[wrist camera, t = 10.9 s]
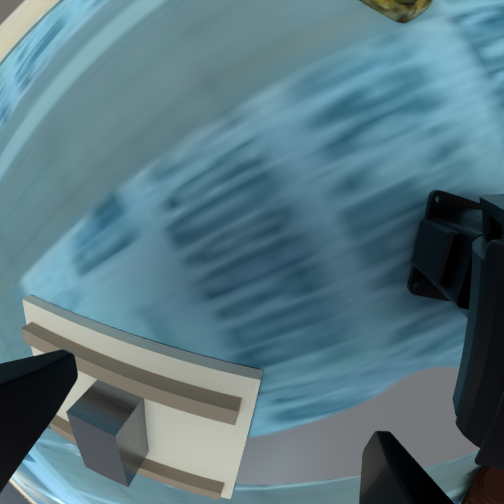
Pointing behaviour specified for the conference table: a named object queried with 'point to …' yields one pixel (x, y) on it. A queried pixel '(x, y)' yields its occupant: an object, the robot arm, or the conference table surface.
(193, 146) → the conference table surface
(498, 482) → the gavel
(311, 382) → the conference table surface
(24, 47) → the conference table surface
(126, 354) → the plate
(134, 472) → the block
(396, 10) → the seal
